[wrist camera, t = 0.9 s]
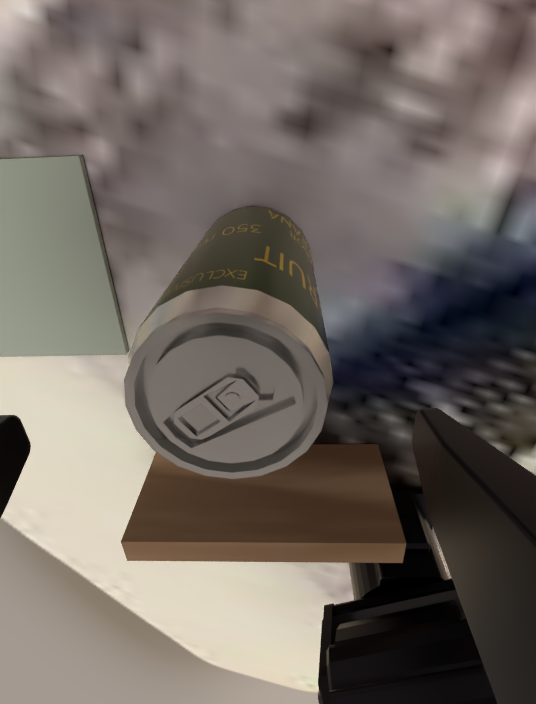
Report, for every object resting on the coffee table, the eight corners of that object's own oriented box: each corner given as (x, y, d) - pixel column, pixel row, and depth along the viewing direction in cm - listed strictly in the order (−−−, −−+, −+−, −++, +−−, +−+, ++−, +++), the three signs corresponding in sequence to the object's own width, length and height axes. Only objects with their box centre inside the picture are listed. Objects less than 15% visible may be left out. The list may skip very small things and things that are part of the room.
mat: (128, 350, 23) (126, 354, 23) (-41, 354, 24) (-46, 357, 23) (82, 155, 18) (78, 155, 18) (-130, 165, 19) (-138, 165, 19)
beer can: (248, 328, 22) (215, 511, 12) (179, 249, 20) (67, 385, 10) (331, 270, 21) (379, 425, 10) (265, 177, 19) (240, 250, 8)
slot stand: (375, 461, 27) (402, 562, 20) (162, 462, 27) (127, 560, 21) (446, -152, 13) (580, -380, 7) (32, -118, 14) (-159, -299, 8)
